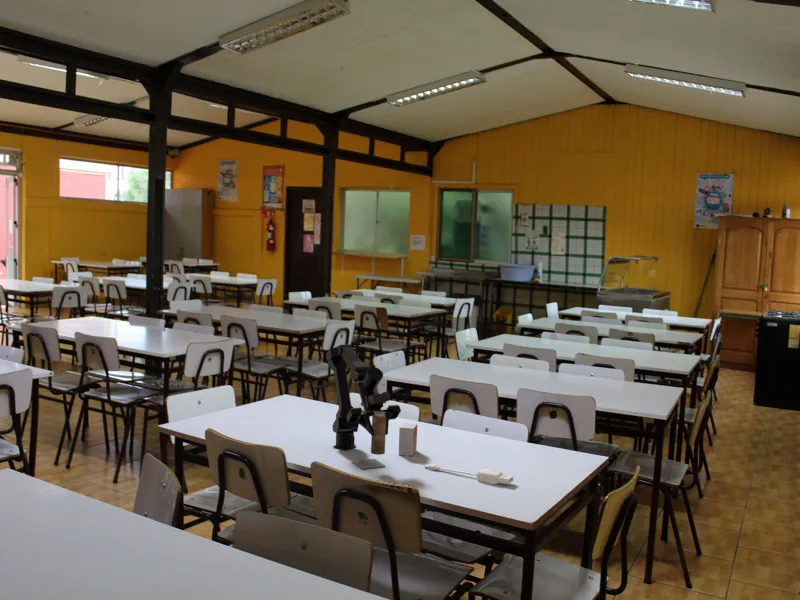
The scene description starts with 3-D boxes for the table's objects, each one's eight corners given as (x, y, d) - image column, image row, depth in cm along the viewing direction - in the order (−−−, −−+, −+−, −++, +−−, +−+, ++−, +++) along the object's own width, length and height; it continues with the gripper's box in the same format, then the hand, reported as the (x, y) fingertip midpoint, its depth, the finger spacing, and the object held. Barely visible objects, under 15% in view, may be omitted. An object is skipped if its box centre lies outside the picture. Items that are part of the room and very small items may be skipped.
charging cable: (428, 469, 260) (428, 459, 259) (513, 483, 243) (513, 473, 243) (421, 472, 255) (421, 463, 255) (507, 487, 239) (507, 477, 238)
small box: (412, 456, 271) (413, 428, 270) (398, 455, 272) (399, 427, 271) (416, 450, 278) (417, 423, 278) (402, 449, 279) (403, 422, 279)
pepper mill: (368, 452, 250) (369, 412, 249) (376, 449, 255) (377, 409, 253) (379, 455, 248) (381, 414, 247) (387, 452, 252) (389, 412, 251)
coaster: (352, 462, 261) (352, 461, 261) (375, 459, 265) (375, 458, 264) (361, 469, 253) (361, 468, 252) (385, 467, 256) (385, 465, 256)
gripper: (350, 385, 249) (362, 425, 240) (399, 382, 257) (412, 420, 248) (341, 402, 256) (352, 441, 248) (389, 399, 265) (401, 437, 256)
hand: (380, 434), depth 249 cm, fingers closed on pepper mill, 5 cm apart
